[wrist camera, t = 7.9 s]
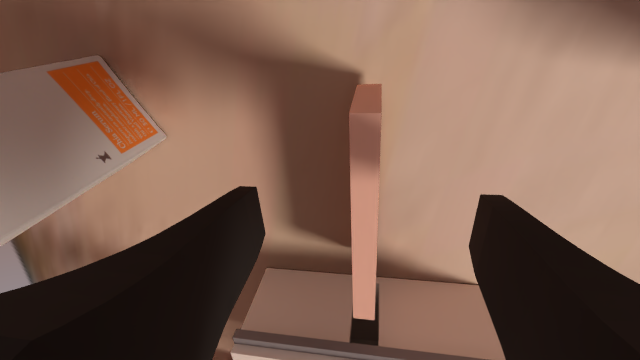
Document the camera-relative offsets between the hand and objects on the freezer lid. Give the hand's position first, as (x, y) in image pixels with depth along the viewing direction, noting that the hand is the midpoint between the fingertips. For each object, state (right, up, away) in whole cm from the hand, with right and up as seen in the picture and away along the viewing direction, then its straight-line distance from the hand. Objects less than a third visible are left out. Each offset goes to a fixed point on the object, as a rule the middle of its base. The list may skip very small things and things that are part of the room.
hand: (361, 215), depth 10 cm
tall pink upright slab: (+2, +1, +8) cm, 8 cm away
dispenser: (+2, -10, +15) cm, 18 cm away
